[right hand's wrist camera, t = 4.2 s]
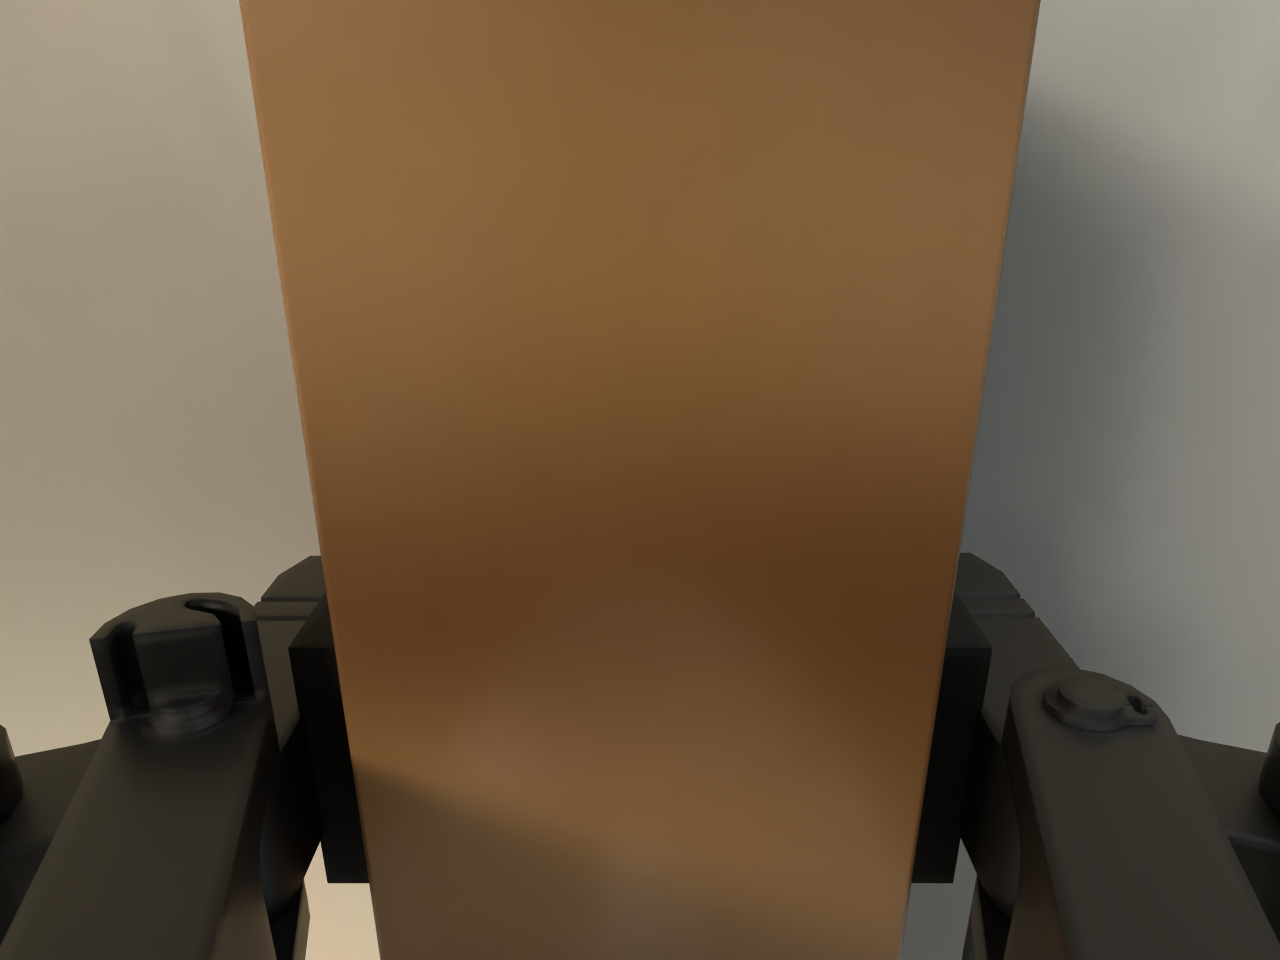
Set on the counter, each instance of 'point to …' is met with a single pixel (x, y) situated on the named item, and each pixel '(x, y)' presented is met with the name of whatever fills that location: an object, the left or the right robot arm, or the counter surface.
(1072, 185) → the counter surface
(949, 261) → the post
